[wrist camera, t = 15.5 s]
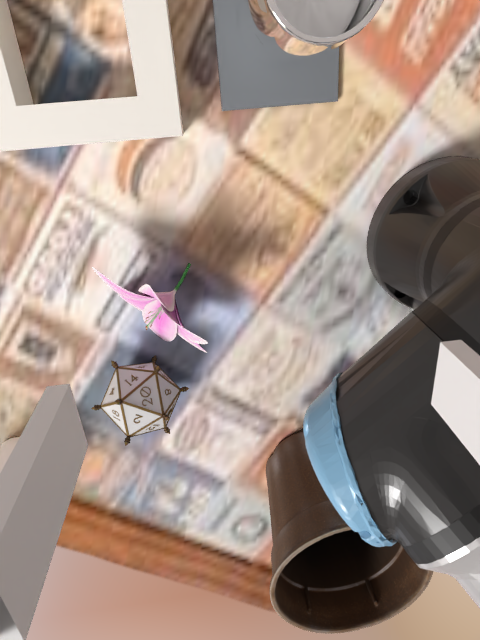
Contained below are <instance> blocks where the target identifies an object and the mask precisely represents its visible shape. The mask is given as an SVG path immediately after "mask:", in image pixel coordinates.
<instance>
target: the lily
mask: <svg viewBox="0 0 480 640" xmlns="http://www.w3.org/2000/svg"><path fill="white" fill-rule="evenodd" d="M190 265H191V264H190V263H188V265H187V267H186V269H185V271H184V273H183V275H182V277H181V279H180V281H179V283H178V284H177V286H176V287H175V288H174V290H173V291H171V292H154V291H153V289H152V288H151V287H150V286H149V285H148V284H145V285H143V286H142V287H141V288H140V289H139V292H141V293H142V294H135V293H132V292H130V291H127V290H126V289H124V288H122V287H120V286H118V285H117V284H115V283H114V282H113V281H111V280H110V279H108V278H107V277H106V276H104V275H103V274H102V273H100V272H99V271H98V270H96V269H95V268H93V267H92V268H93V270H94V271H95V272H96V273H97V275H98V276H99V277H100V278H101V279H102V280H103V281H104V282H105V283H106V284H107V285H108V286H109V287H110V288H111V289H112V290H114V291H115V292H117V293H118V295H119V296H120V297H121V298H122V299H124V300H125V301H126V302H128V303H129V304H130V305H132V306H134V307H135V308H137V309H138V310H140V311H142V312H143V314H142V315H143V319H144V321H145V323H146V324H147V326H146V330H147V329H148V327H149V328H150V329H151V330H152V331H153V332H154V333H155V334H156V335H158V336H159V337H160V338H162V339H163V340H165V341H172V340H174V338H175V337H176V334H178V335H179V336H180V337H182V338H183V339H184V340H186V341H187V342H189V343H190V344H192V345H193V346H195V347H196V348H198V349H200V350H202V351H204V352H206V351H205V350H204V349H203V348H202V347H200V346H199V345H198V344H208V342H207V341H206V340H204V339H202V338H201V337H199V336H197V335H195V334H193V333H192V332H190V331H188V330H186V329H185V328H184V326H183V324H182V321H181V318H180V316H179V312H178V309H177V305H176V301H175V293H176V291H177V290H178V288H179V287H180V285H181V284H182V282H183V280H184V278H185V276H186V274H187V272H188V270H189V267H190ZM197 343H198V344H197ZM206 353H207V352H206Z"/></svg>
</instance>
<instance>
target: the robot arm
mask: <svg viewBox="0 0 480 640" xmlns="http://www.w3.org/2000/svg"><path fill="white" fill-rule="evenodd" d="M367 257H368V262H369V266H370V269H371V271H372V273H373V275H374V277H375V279H376V280H377V282H378V283H379V284H380V286H381V287H382V288H383V289H384V290H385V291H386V292H388V293H389V294H390V295H391V296H392V297H393V298H394V299H396V300H397V301H399V302H400V303H402V304H404V305H406V306H408V307H410V308H413V309H415V310H414V311H412V312H411V313H410V314H409V315H407V316H406V317H405V318H404V319H403V320H402V321H401V322H400V323H399V324H398V325H396V326H395V327H394V328H393V329H392V330H391V331H390V332H389V333H388V334H387V335H385V336H384V337H383V338H382V339H381V340H380V341H379V342H378V343H377V344H375V345H374V346H373V347H372V348H371V349H370V350H369V351H368V352H367V353H366V354H364V355H363V356H362V357H361V358H360V359H359V360H358V361H356V362H355V363H354V364H353V365H352V366H351V367H350V368H348V369H347V370H346V371H345V372H344V373H338V374H337V375H336V376H335V377H334V378H333V380H332V383H331V384H330V385H329V386H328V387H327V388H326V389H325V390H324V391H323V392H322V393H321V394H320V395H319V396H318V397H317V398H316V399H315V400H314V401H313V402H312V403H311V405H310V406H309V407H308V409H307V411H306V414H305V417H304V423H303V432H304V437H305V445H306V449H307V452H308V456H309V459H310V461H311V464H312V467H313V469H314V471H315V473H316V476H317V478H318V480H319V482H320V484H321V486H322V488H323V489H324V491H325V493H326V495H327V496H328V498H329V500H330V501H331V503H332V504H333V506H334V508H335V509H336V510H337V512H338V513H339V515H340V516H341V517H342V519H343V520H344V521H345V522H346V523H347V525H348V526H349V527H350V528H351V529H352V530H353V531H355V532H358V533H359V534H360V536H361V538H362V539H363V540H364V541H365V542H367V543H369V544H370V545H372V546H375V547H384V546H393V545H394V544H395V543H396V542H397V541H398V542H399V543H400V544H401V546H402V547H403V548H404V549H405V551H406V552H407V553H408V555H409V556H410V557H411V558H412V560H413V561H414V562H415V563H416V564H417V566H418V567H419V568H422V569H426V570H431V571H435V572H440V573H444V574H448V575H450V576H452V577H454V578H456V580H457V581H458V582H459V583H460V585H461V586H462V587H463V588H464V590H465V591H466V592H467V593H468V595H469V596H470V597H471V598H472V599H473V601H474V602H475V603H476V604H477V606H478V607H479V608H480V160H479V159H474V158H469V157H459V156H454V157H444V158H439V159H436V160H432V161H430V162H427V163H425V164H422V165H420V166H418V167H417V168H415V169H413V170H412V171H410V172H409V173H407V174H406V175H404V176H403V177H402V178H401V179H400V180H399V181H397V182H396V183H395V184H394V185H393V186H392V188H391V189H390V190H389V191H388V192H387V193H386V195H385V196H384V198H383V199H382V200H381V202H380V204H379V205H378V207H377V209H376V211H375V213H374V215H373V218H372V221H371V224H370V227H369V231H368V237H367ZM87 447H88V443H87V440H86V437H85V433H84V430H83V427H82V423H81V420H80V417H79V413H78V410H77V407H76V403H75V400H74V397H73V393H72V390H71V387H70V384H64V385H55V386H47V387H46V389H45V391H44V393H43V395H42V397H41V399H40V400H39V402H38V404H37V406H36V408H35V410H34V412H33V413H32V415H31V417H30V419H29V421H28V423H27V425H26V426H25V428H24V430H23V432H22V434H21V436H20V438H19V440H18V441H17V443H16V445H15V447H14V449H13V451H12V453H11V454H10V456H9V458H8V460H7V462H6V464H5V466H4V467H3V469H2V471H1V473H0V640H26V638H27V634H28V631H29V628H30V625H31V622H32V619H33V616H34V612H35V610H36V606H37V603H38V600H39V597H40V593H41V591H42V588H43V585H44V581H45V578H46V575H47V572H48V569H49V566H50V563H51V560H52V556H53V553H54V550H55V547H56V544H57V541H58V538H59V535H60V531H61V528H62V525H63V522H64V519H65V516H66V513H67V510H68V507H69V503H70V500H71V497H72V494H73V491H74V488H75V485H76V482H77V478H78V475H79V472H80V469H81V466H82V463H83V460H84V457H85V453H86V450H87Z"/></svg>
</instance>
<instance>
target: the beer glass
mask: <svg viewBox="0 0 480 640" xmlns="http://www.w3.org/2000/svg"><path fill="white" fill-rule="evenodd" d="M383 1H384V0H242V2H241V5H240V9H239V19H238V21H239V31H240V35H241V38H242V41H243V43H244V45H245V47H246V48H247V50H248V51H249V52H250V54H251V55H252V56H253V57H255V58H256V59H257V60H259V61H261V62H263V63H265V64H268V65H283V64H286V63H289V62H291V61H293V60H294V59H297V60H303V59H310V58H314V57H318V56H321V55H324V54H326V53H328V52H330V51H332V50H333V49H335V48H337V47H339V46H340V45H342V44H343V43H344V42H346V41H347V40H348V39H350V38H351V37H353V36H354V35H356V34H357V33H358V32H360V31H361V30H362V29H363V28H364V27H365V26H366V25H367V24H368V23H369V22H370V21H371V20H372V18H373V17H374V16H375V14H376V13H377V11H378V10H379V8H380V6H381V5H382V3H383Z"/></svg>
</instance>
